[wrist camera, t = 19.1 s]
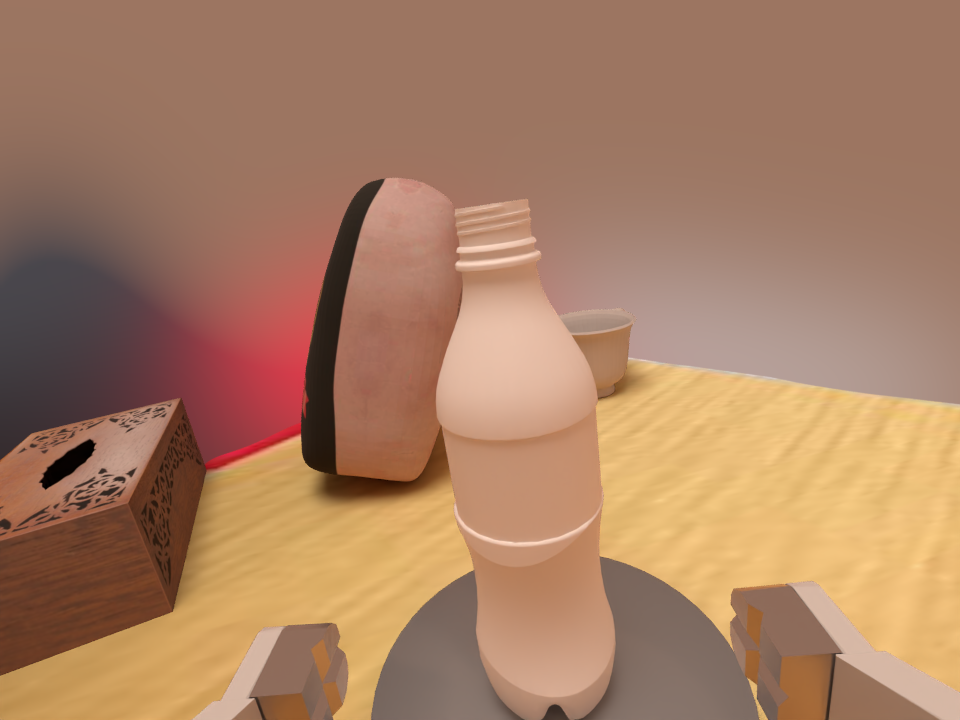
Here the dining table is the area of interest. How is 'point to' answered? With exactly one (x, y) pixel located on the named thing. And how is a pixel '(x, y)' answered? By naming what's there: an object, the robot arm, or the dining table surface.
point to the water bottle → (525, 473)
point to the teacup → (602, 343)
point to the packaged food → (382, 334)
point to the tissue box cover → (94, 529)
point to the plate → (635, 675)
